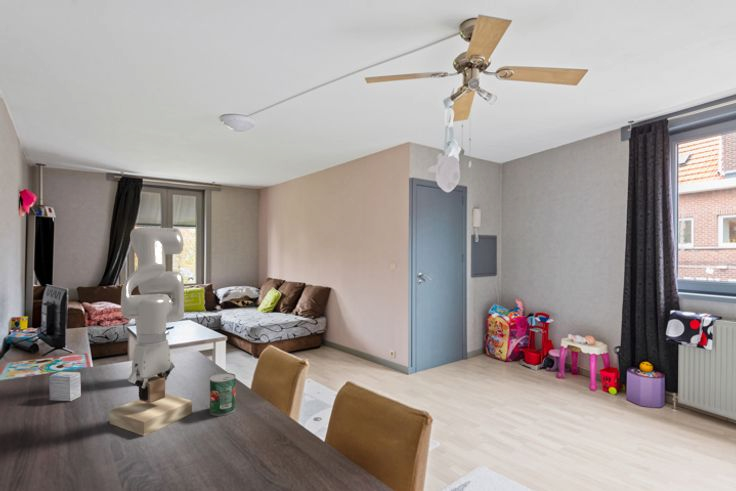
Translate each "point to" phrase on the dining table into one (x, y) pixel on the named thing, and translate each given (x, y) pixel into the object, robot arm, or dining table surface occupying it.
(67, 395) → the medicine box
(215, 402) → the canned tomato
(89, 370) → the dining table surface
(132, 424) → the birch base
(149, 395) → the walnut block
